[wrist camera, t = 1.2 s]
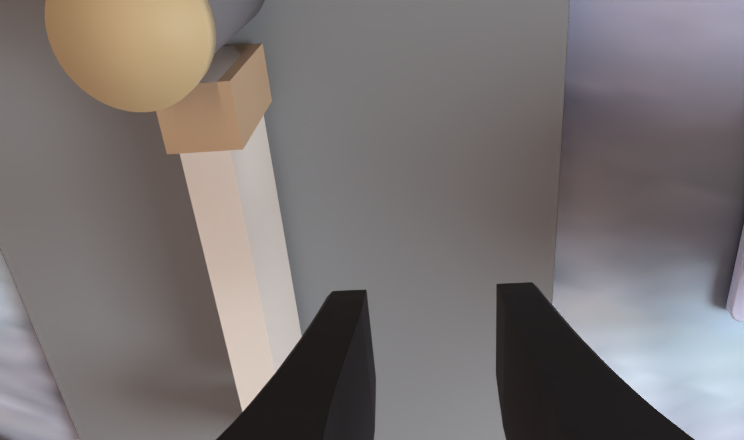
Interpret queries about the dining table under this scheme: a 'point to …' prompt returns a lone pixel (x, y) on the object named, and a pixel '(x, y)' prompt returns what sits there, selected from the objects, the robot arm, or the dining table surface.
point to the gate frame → (281, 194)
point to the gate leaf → (238, 211)
